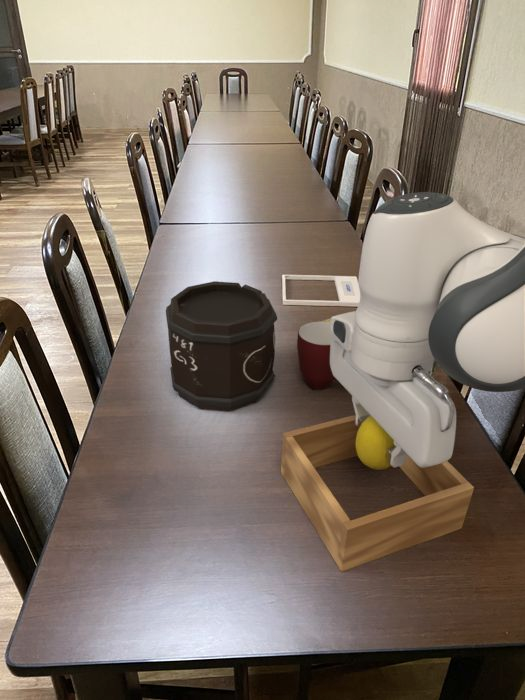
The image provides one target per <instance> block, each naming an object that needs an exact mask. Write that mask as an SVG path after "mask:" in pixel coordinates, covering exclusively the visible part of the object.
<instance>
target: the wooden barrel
mask: <svg viewBox="0 0 525 700" xmlns="http://www.w3.org/2000/svg"><path fill="white" fill-rule="evenodd" d="M165 308H166V309H165V317H166V326H167V334H168V347H169V357H170V364H171V366H170V367H169V368H170V378H171V383H172V384H171V385H172V388H173V391H175V392H176V393H178V396H179V398H181V399H183V400H184V401H185V402H187V403H189V404H190V405H192V406H194V407H195V408H196V409H199V410H204V411H219V412H229V413H230V412H232V411H233V412H234V411H236V410H239V409H241V408H244V407H245V408H246V407H248V406H250V405H254V404H256V403H257V402H258V401H259V400H260V399H261V397H262V396H263V395H264V393H265V392H266V391H267V390H268V388H269V387H270V386H271V384H272V383H273V381H274V380H275V378H276V374H275V372H274V365H275V364H274V363H275V358H276V331H275V323H276V322H277V320H278V315H277V313H276V311H275V309H274V307H273V305H272V303H271V301H270V299H269V298H268V297H267V295H266V293H265V292H263V291H262V290H261V289H258V288H255V287H253V286H251V285H248V284H243V285H241V284H240V283H239V282H232V281H231V282H230V281H229V282H228V281H209V282H205V283H200V284H199V283H198V284H194V285H189V286H187V287H185V288H184V289H183V290H180V292H178V293H177V294H176V295H174V296H173V297H171V298H170V304H168V305H167V306H166V307H165Z"/></svg>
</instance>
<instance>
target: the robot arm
mask: <svg viewBox="0 0 525 700" xmlns="http://www.w3.org/2000/svg"><path fill="white" fill-rule="evenodd" d="M357 280H358V283H359V289H360V302H359V305H358V307H357V308H356V310H354V311H349V312H344V313H340V314H336V315H333V316H331V318H330V319H331V324H330V327H331V331H332V333H333V335H332V337H331V345H330V367H331V371H332V374H333V376H334V377H335V378H336V379H337V380H338V381H337V380H336V381H337V382H339V384H341V386H343V388H344V389H345V390H346V391H347V392H348V393H349V395H350V396H351V401H352V405H353V409H354V413H355V415H356V422H355V424H356V426H357V427H358V428H360V426H361V424H362V423H363V422H364V421H365V420H366V419H367V418H369V417H371V416H372V417H373V418H374V419H375V420H376V422H377V423H378V424H379V425H380V426H381V427H382V428H383V429H384V430H385V431H386V432H387V433H388V434H389V435H390V436H391V438H392V439H393V440H394V445H395V447H394V448H392V447H391V448H388V449H387V452H386V454H387V456H386V459H387V461H388V462H389V463H390V464H391V465H392V466H391V467H392V468H398V467H399V466H401V465H403V464H404V463H405V461H406V456H407V455H408V456H409V457H410V458H411V459H412V460H413V461H414V462H415V463H416V464H417V465H418V466H419V467H421V468H425V467H430V466H434V465H438V464H440V463H443V462H445V461H449V460H450V459H451V458H452V456H453V454H454V453H453V452H454V448H455V440H456V433H457V431H456V430H457V409H456V406H455V403H454V401H453V400H452V398H451V397H450V395H449V393H450V392H449V389H448V388H447V387H446V386H445V385H443V384H442V383H441V382H438V381H437V380H436V378H435V377H434V378H433V377H432V376H431V375H430V374H429V373H428V372H429V371H430V370H431V368H432V366H433V361H434V359H435V361H436V362H437V366H438V367H439V368H440V369H441V370H442V372H444V373H445V374H446V375H447V376H448V377H450V378H451V379H453V380H454V381H456V382H458V383H460V384H462V385H464V386H466V387H468V388H470V389H474V390H477V391H483V392H489V393H490V392H491V393H508V392H515V391H519V390H524V389H525V237H524V236H521V235H519V234H515V233H510V232H506V231H505V230H501V229H499V228H496V227H494V226H491V225H489V224H488V223H486V222H484V221H482V220H480V219H479V218H477V217H475V216H474V215H472V214H471V213H470V212H468V211H467V210H465V208H463V206H461V205H460V204H459V202H457V200H456V199H455V198H454V197H452V196H451V195H448V194H445V193H439V192H435V191H433V192H431V191H419V192H411V193H405V194H401V195H399V196H395V197H392V198H390V199H387V200H386V201H385V202H383V203H382V204H380V205H379V206H378V207H377V208H376V209H375V210H374V211H373V213H372V214H371V215H370V218H369V220H368V224H367V226H366V230H365V234H364V238H363V243H362V249H361V253H360V261H359V270H358V278H357Z"/></svg>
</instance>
